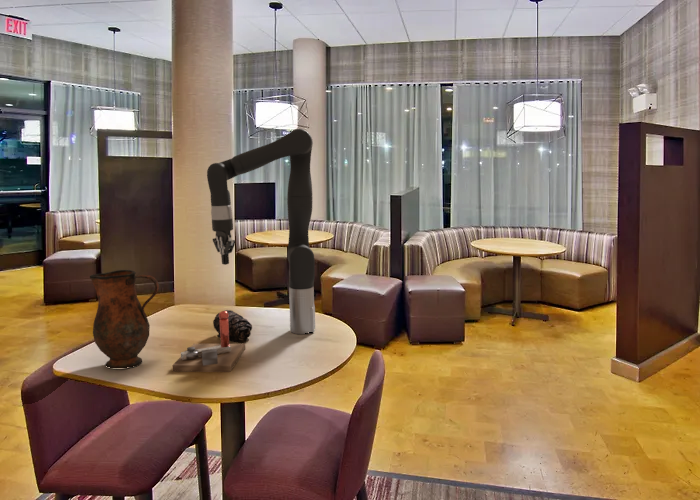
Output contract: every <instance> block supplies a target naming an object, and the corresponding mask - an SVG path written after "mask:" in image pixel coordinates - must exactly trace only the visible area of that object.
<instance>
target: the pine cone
mask: <svg viewBox="0 0 700 500" xmlns="http://www.w3.org/2000/svg"><path fill="white" fill-rule="evenodd" d="M224 311H226V312H228V314H229V317H228V323H229V342H232V343H234V344H245V345H246V344H247V343H248V342H249V341H250V339H249V338H250V337H251V334H252V333H251V332H252V331H253V330H252V329H253V325H252V323H251V322H250V321H249V320H248V319H247V318H245V317H244V316H243V315H241V314H238V313H237V312H235V311H234V310H231V309H226V310H225V309H224ZM219 313H220V312H218V313H217V314H216V315H215V317H214V319H213V320H212V321H213V322H212V324H213V329H214V330H215V331H216V332H217V333H218V334H217V335H216V337H217V338H218V339H220V319H219Z"/></svg>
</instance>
